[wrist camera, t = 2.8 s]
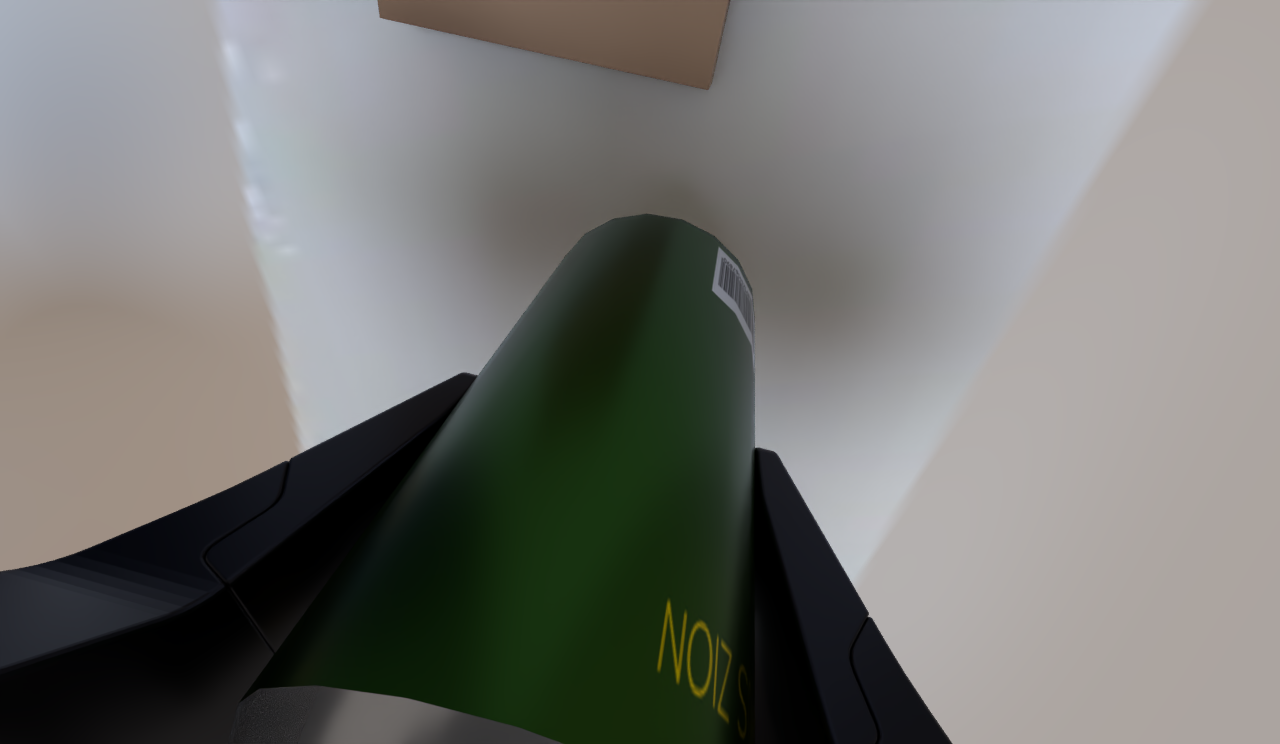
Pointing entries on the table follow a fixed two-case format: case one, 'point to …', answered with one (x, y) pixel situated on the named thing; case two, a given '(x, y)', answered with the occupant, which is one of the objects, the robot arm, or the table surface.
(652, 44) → the brown square coaster
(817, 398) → the table surface
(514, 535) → the beer can
